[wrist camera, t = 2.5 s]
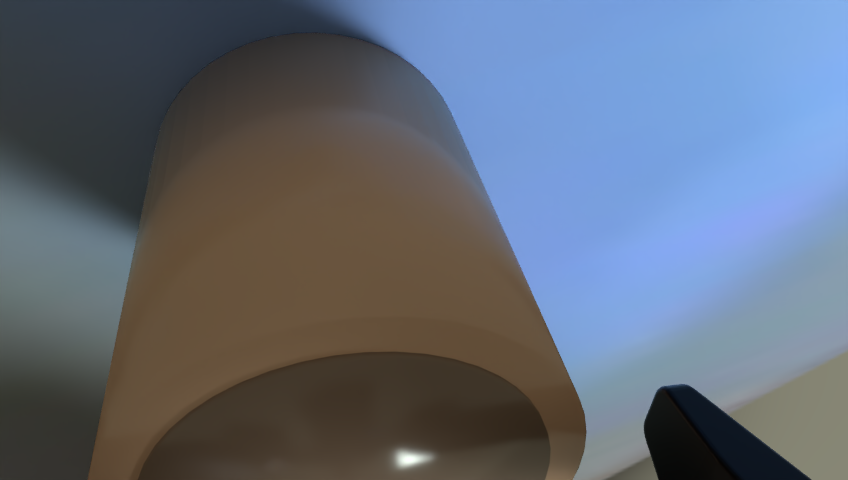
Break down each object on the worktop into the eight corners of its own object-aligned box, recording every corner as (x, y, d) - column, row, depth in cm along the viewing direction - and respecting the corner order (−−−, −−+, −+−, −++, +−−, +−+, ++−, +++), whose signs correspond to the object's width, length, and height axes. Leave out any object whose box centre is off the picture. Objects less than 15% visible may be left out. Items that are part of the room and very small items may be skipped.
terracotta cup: (516, 175, 15) (666, 464, 10) (311, 328, 17) (339, 648, 11) (318, -42, 11) (378, 221, 6) (84, 180, 13) (-35, 541, 8)
